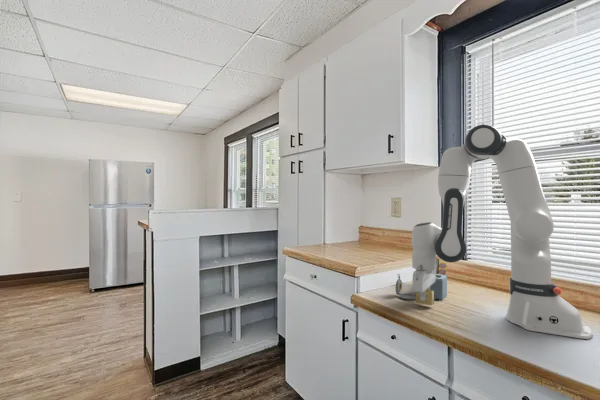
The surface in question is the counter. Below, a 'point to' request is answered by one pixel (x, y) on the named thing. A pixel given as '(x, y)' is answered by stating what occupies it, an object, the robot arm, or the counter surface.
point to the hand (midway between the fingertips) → (424, 298)
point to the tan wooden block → (428, 300)
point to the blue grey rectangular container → (440, 287)
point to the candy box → (440, 266)
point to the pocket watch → (399, 289)
